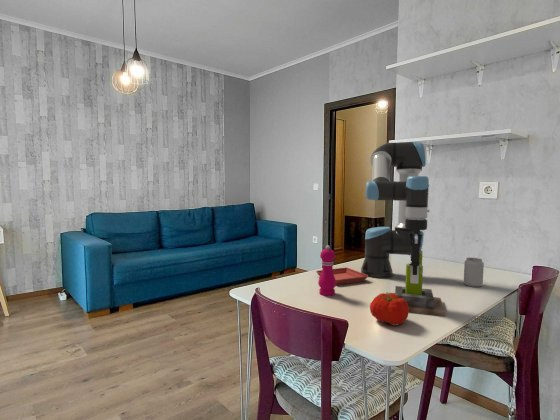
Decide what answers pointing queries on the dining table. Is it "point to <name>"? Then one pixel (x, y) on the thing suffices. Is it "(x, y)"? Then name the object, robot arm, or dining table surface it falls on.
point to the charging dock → (429, 311)
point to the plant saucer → (346, 275)
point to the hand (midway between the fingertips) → (414, 280)
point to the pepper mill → (327, 273)
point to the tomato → (389, 308)
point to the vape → (417, 288)
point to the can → (473, 272)
